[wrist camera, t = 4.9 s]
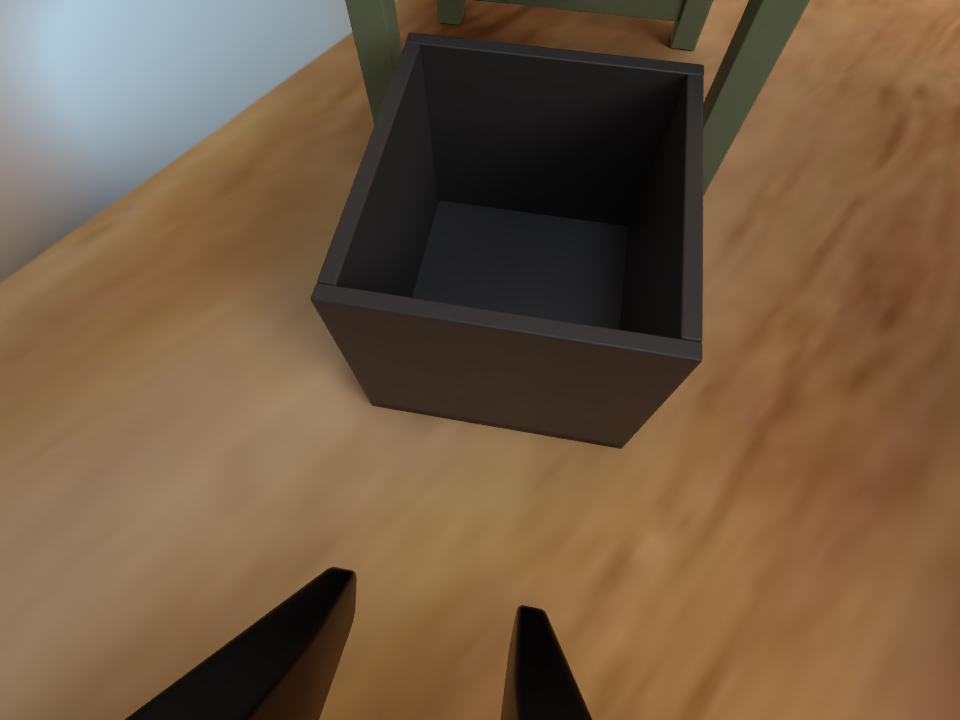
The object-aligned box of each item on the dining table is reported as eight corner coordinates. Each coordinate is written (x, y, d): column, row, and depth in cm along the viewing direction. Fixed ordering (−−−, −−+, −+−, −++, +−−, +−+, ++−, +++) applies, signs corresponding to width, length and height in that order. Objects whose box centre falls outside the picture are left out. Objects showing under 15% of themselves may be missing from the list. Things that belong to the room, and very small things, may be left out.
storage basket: (621, 449, 22) (703, 361, 14) (372, 405, 23) (309, 299, 15) (637, 226, 27) (704, 64, 19) (431, 198, 28) (408, 31, 20)
